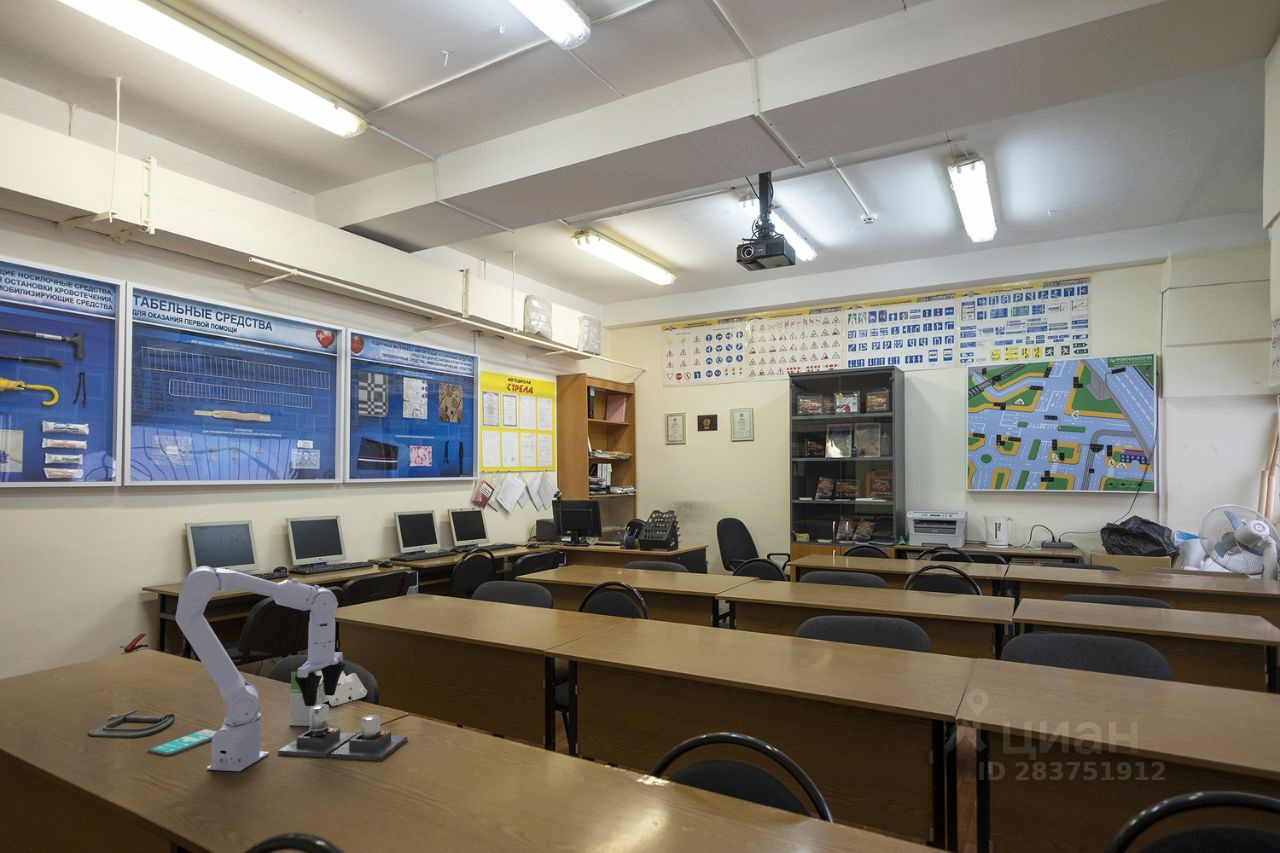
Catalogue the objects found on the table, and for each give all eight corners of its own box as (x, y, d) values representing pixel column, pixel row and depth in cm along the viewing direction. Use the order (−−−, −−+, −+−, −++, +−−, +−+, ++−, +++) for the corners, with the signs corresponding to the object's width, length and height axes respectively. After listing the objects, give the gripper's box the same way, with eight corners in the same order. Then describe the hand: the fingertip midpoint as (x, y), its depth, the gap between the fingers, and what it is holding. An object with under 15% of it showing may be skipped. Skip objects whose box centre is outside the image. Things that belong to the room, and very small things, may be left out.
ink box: (323, 721, 176) (325, 668, 177) (314, 727, 172) (316, 672, 173) (298, 720, 176) (299, 667, 177) (288, 726, 173) (290, 671, 173)
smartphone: (231, 730, 168) (169, 754, 154) (231, 735, 168) (169, 758, 154) (207, 726, 171) (144, 748, 157) (207, 730, 171) (144, 753, 157)
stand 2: (381, 761, 151) (381, 743, 151) (330, 758, 153) (331, 741, 153) (407, 740, 163) (407, 724, 163) (360, 737, 164) (360, 721, 165)
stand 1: (326, 757, 153) (327, 740, 153) (277, 755, 155) (278, 738, 155) (356, 737, 165) (356, 721, 165) (310, 735, 166) (311, 719, 167)
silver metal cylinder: (321, 736, 157) (322, 710, 158) (305, 736, 158) (306, 709, 158) (332, 730, 162) (332, 704, 162) (316, 729, 162) (316, 703, 163)
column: (374, 748, 155) (374, 721, 156) (357, 747, 156) (357, 720, 156) (383, 741, 159) (383, 715, 160) (366, 740, 160) (367, 714, 160)
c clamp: (69, 737, 167) (70, 725, 168) (134, 713, 184) (134, 702, 185) (139, 742, 164) (139, 731, 164) (198, 717, 180) (199, 707, 181)
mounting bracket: (357, 700, 198) (349, 663, 201) (369, 694, 195) (361, 657, 198) (317, 712, 188) (310, 673, 191) (330, 706, 185) (322, 667, 188)
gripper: (318, 649, 154) (316, 711, 153) (354, 634, 168) (353, 691, 167) (289, 648, 155) (287, 710, 154) (328, 633, 169) (326, 690, 168)
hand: (320, 700), depth 160 cm, fingers open, 7 cm apart
